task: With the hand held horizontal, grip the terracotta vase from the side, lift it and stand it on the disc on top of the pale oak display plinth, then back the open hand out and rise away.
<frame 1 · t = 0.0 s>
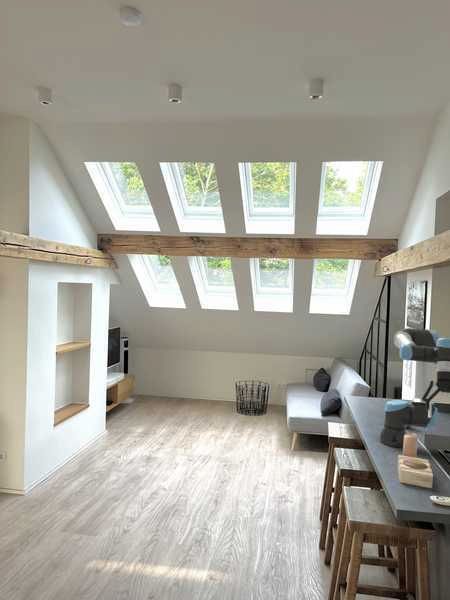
hand: (446, 419, 206), 28 cm above the worktop, tool tilted 20°, fingers open, 13 cm apart
small box: (403, 426, 293), on the worktop
plinth: (413, 476, 210), on the worktop
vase: (409, 459, 232), on the worktop
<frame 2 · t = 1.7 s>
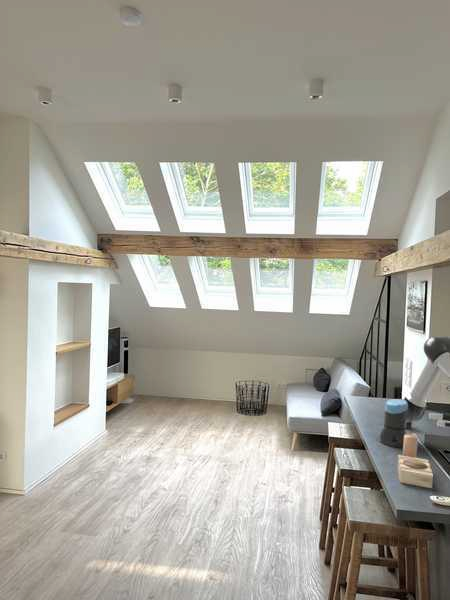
hand: (433, 419, 230), 22 cm above the worktop, tool horizontal, fingers open, 13 cm apart
nothing on the worktop moved.
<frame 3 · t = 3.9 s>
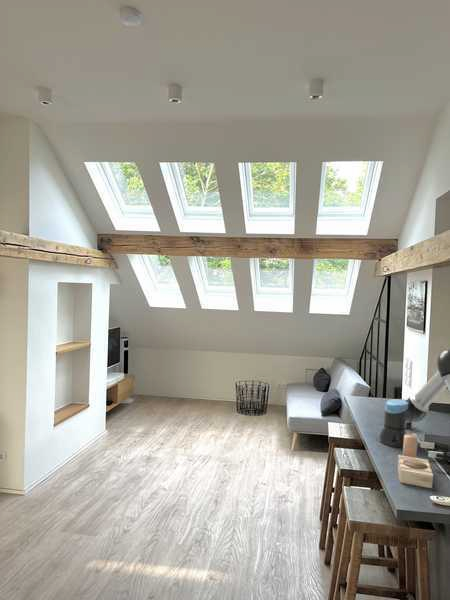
hand: (424, 449, 230), 6 cm above the worktop, tool horizontal, fingers open, 13 cm apart
nothing on the worktop moved.
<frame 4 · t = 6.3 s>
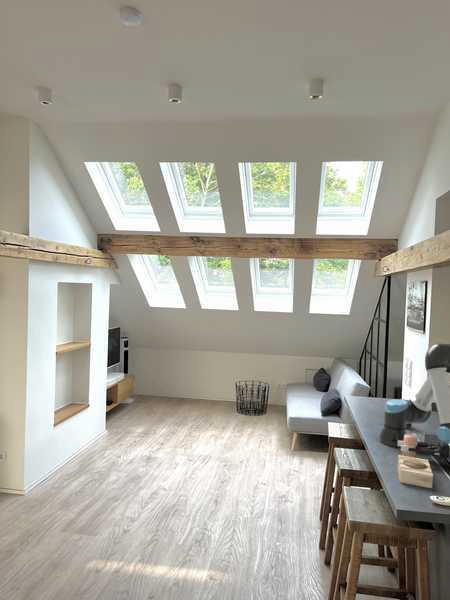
hand: (399, 445, 232), 7 cm above the worktop, tool horizontal, fingers closed on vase, 6 cm apart
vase: (409, 459, 232), on the worktop, touching gripper
everything else where it was.
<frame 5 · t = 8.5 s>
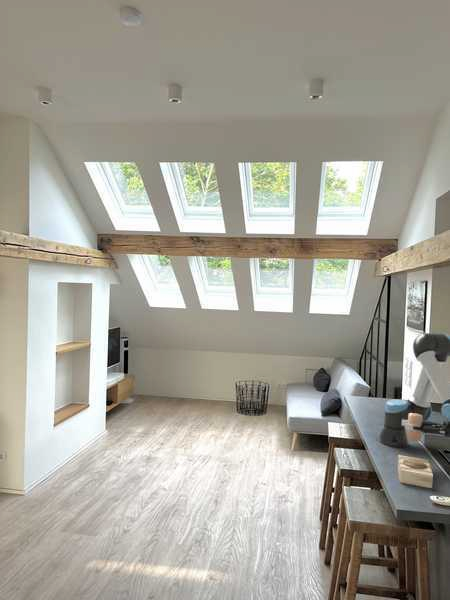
hand: (403, 424, 228), 18 cm above the worktop, tool horizontal, fingers closed on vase, 6 cm apart
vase: (413, 439, 228), point 12 cm above the worktop, touching gripper
everything else where it was.
when the fingers open (14 cm above the worktop, at t = 10.8 s): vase drops 1 cm, resting on plinth.
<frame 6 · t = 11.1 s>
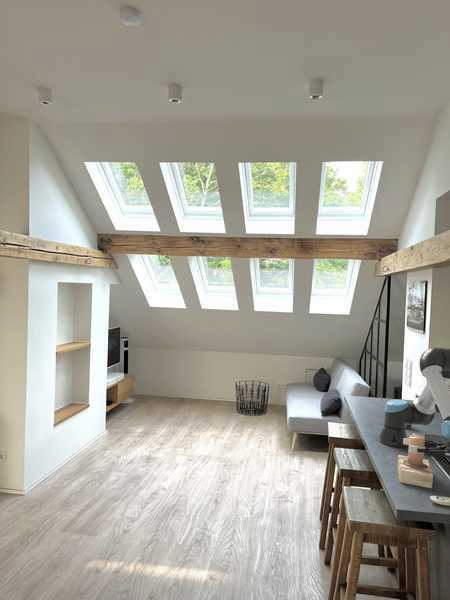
hand: (406, 444, 210), 14 cm above the worktop, tool horizontal, fingers open, 9 cm apart
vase: (415, 463, 210), point 6 cm above the worktop, touching plinth
everything else where it was.
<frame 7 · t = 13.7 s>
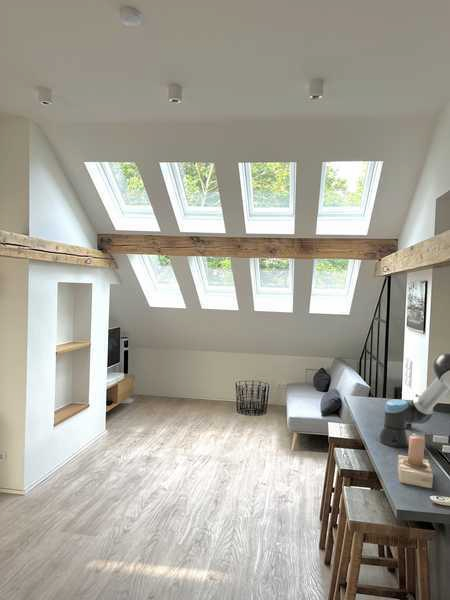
hand: (437, 443, 210), 16 cm above the worktop, tool horizontal, fingers open, 13 cm apart
nothing on the worktop moved.
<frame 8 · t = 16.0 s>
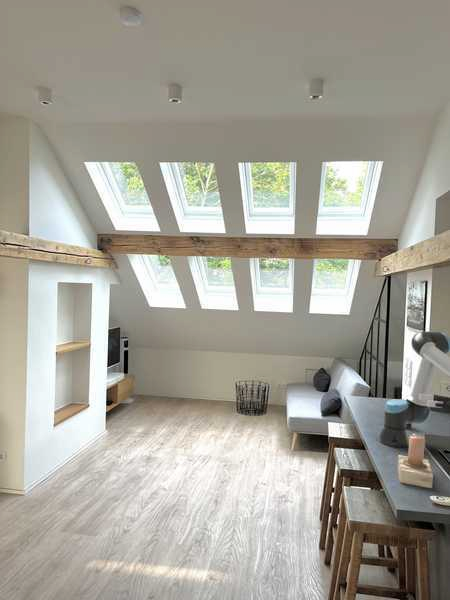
hand: (423, 400, 224), 32 cm above the worktop, tool horizontal, fingers open, 13 cm apart
nothing on the worktop moved.
at the end: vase inside the target area on the plinth (0.1 cm from its centre), point 6.0 cm above the plinth's base; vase tilted 0°; the gripper is holding nothing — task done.
